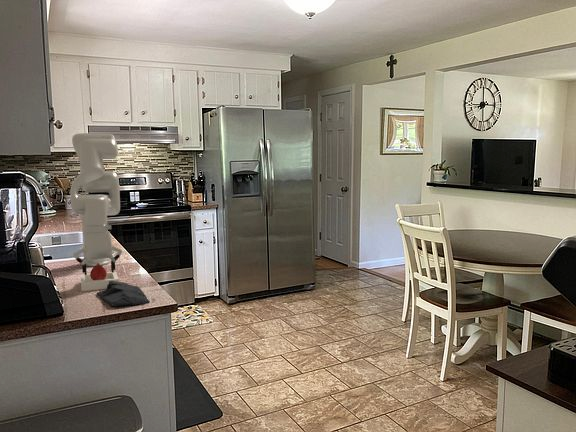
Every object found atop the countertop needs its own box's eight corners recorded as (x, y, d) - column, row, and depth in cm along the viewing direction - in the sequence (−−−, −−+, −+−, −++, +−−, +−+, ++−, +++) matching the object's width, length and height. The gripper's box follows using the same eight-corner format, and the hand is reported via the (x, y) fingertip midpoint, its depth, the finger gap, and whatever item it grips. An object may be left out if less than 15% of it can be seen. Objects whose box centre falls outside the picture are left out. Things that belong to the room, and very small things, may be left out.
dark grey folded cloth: (104, 312, 149) (104, 297, 149) (95, 294, 168) (95, 281, 168) (153, 304, 157) (152, 291, 156) (139, 288, 176) (138, 276, 175)
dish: (81, 282, 182) (80, 274, 182) (116, 279, 187) (115, 271, 187) (81, 291, 170) (81, 282, 170) (119, 287, 176) (118, 279, 175)
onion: (87, 285, 176) (86, 264, 175) (96, 281, 182) (94, 261, 181) (102, 285, 175) (100, 264, 175) (109, 281, 181) (108, 261, 180)
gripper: (120, 226, 183) (122, 268, 185) (71, 229, 176) (74, 273, 178) (121, 229, 176) (123, 273, 179) (71, 232, 169) (74, 277, 171)
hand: (99, 273), depth 178 cm, fingers open, 9 cm apart
